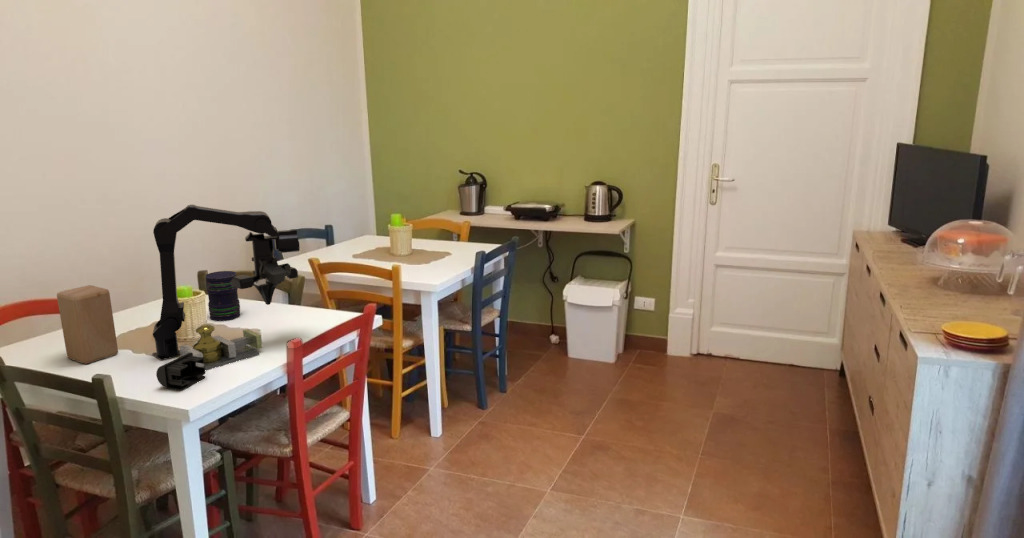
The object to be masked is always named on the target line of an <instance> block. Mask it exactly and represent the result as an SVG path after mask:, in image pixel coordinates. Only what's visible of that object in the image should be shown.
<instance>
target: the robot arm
mask: <svg viewBox="0 0 1024 538" xmlns="http://www.w3.org/2000/svg"><path fill="white" fill-rule="evenodd" d="M193 221H198V222H199V221H201V222H204V223H205V222H206V223H213V224H221V225H227V226H234V227H239V228H242V229H244V230H247V231H249V232H248V233H247V235H246V236H245V238H244V240H245V242H252V243H251V245H252V253H253V257H251V262H253V266H254V270H252V274H253V276H249V275H247V274H242V275H236V276H235V277H233V279H232V286H234V287H237V288H238V290H239V289H240V290H244V289H250V288H253V287H255V288H256V290H257V291H258V293H259V294H260V296H261V298H262V299H263V302H264V303H265V305H266V306H270V305H271V302H272V299H273V295H274V293H275V290H276V287H278V286H279V284H282V283H283V282H285V281H286V277H287V278H288V279H289V280H291V279H296V278H298V277H299V272H298V269H297V268H296V267H294V266H293V267H292V266H291V264H289V263H282V264H279V262H278V259H277V257H275V253H274V248H275V251H278V252H279V253H280V254H284V253H298V252H300V247H301V246H300V241H299V236H298V230H297V229H296V228H292V229H287V230H284V229H283V230H278V229H277V227H276V226H274V225H273V224H272V220H271V218H270V216H269V215H268V214H267V213H266V212H264V211H260V210H258V211H256V210H255V211H254V210H253V211H251V210H249V211H233V210H232V211H231V210H227V209H226V210H225V209H219V208H213V207H205V206H199V205H195V204H188V205H186V207H184V208H183V209H181V210H179V211H178V212H176V213H174V214H173V215H171V216H169V217H167V218H166V217H164V218H163V217H162V218H161V219H158V221H157V222H155V225H154V227H153V230H152V231H153V235H154V240H155V244H156V247H157V250H158V252H159V253H158V254H159V262H160V265H159V266H160V274H161V275H160V279H161V295H162V304H161V309H160V310H161V311H160V319H159V320H158V321H157V322H156V323H155V324H154V327H153V331H152V337H153V338H154V343H155V349H156V351H155V352H153V353H152V354H151V355H152V356H153V357H155V358H157V359H158V360H160V361H163V360H168V359H171V358H175V357H178V356H179V357H180V356H181V355H180V349H179V344H178V335H177V331H178V330H180V329H181V328H182V325H183V322H185V319H186V314H185V313H186V312H185V311H184V309H185V302H184V301H183V302H179V298H178V290H177V275H176V272H177V271H176V260H175V258H176V257H175V249H176V248H175V247H176V241H177V234H178V232H180V231H182V230H183V229H184V228H186V227H187V226H188V225H189V224H191V223H192V222H193ZM254 233H255V234H254ZM265 234H266V235H265ZM273 240H274V243H273Z"/></svg>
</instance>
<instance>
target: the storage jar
mask: <svg viewBox="0 0 1024 538" xmlns="http://www.w3.org/2000/svg"><path fill="white" fill-rule="evenodd" d="M235 276H237V272H236V271H232V270H221V271H220V270H219V271H214V272H209V273H207V274H205V276H204V277H205V287H206V293H207V295H208V303H207V305H208V312H209V315H210V316H209V319H210V320H211V321H213V322H229V321H232V320H236V319H238V318H240V317H241V304H240V303H241V302H240V299H239V297H238V296H239V295H238V290H239V288H237V287H234V286H232V279H233V277H235Z"/></svg>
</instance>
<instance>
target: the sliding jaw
mask: <svg viewBox="0 0 1024 538" xmlns="http://www.w3.org/2000/svg"><path fill="white" fill-rule="evenodd" d="M242 334H243V335H242V336H241V337H237V338H234V339H227V338H225V337H223V336H221V335H219V334H217V335H214V336H213V337H214V338H215V339H217V340H219V341H220V342H221V347H220V348H221V349H222V355H224V356H226V357H228V358H233V357H236V349H235V348H238V347H241V346H245V345H247V346H249V347H251V348H253V349H255V350H259V349H263V342H262V341H263V340H262V335H261V334H259V333H258V332H255V331H254V330H252V329H249V328H246V329H242Z"/></svg>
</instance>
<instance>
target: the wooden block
mask: <svg viewBox="0 0 1024 538" xmlns="http://www.w3.org/2000/svg"><path fill="white" fill-rule="evenodd" d="M56 298H57V299H56V301H57V305H58V309H59V316H60V321H61V322H60V323H61V328H62V333H63V339H64V346H65V347H64V348H65V352H66V356H67V358H68V359H70V360H73V361H75V362H79V363H80V364H83V365H84V364H90V363H93V362H96V361H100V360H103V359H106V358H110V357H113V356H115V355H117V354H118V353H119V347H118V341H117V340H118V339H117V334H116V328H115V321H114V315H113V309H112V308H113V307H112V301H111V294H110V290H109V289H107V288H103V287H99V286H96V285H91V284H90V285H89V284H87V285H84V286H80V287H75V288H71V289H67V290H62V291H59V292H57V293H56Z"/></svg>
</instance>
